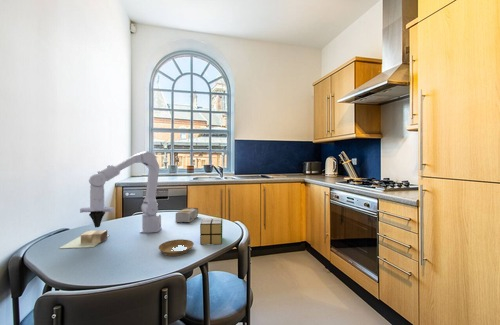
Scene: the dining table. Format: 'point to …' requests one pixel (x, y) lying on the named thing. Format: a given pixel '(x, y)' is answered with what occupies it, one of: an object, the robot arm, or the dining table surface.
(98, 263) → the dining table surface
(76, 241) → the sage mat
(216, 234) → the puzzle cube
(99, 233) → the birch block
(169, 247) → the plant saucer
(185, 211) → the coffee box
